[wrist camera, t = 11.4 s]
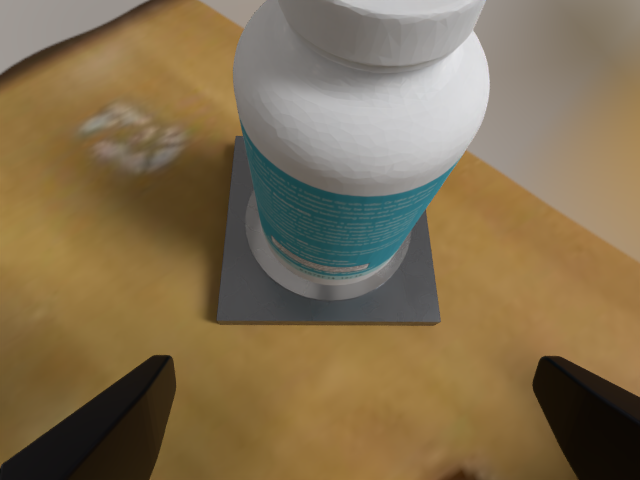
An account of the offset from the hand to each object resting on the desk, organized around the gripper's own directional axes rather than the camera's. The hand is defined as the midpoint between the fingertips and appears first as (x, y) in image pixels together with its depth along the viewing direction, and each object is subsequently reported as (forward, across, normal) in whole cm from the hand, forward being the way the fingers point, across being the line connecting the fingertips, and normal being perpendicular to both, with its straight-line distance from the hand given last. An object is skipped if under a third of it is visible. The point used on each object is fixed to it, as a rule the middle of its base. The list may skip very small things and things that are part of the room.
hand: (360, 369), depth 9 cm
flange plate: (+13, 0, +1) cm, 13 cm away
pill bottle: (+12, 0, 0) cm, 12 cm away
